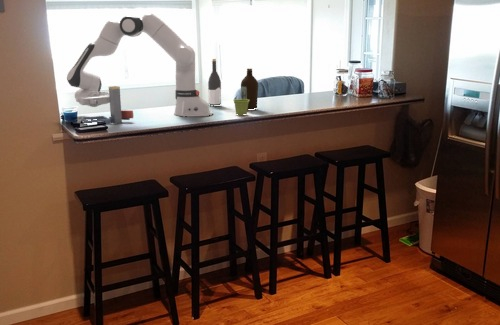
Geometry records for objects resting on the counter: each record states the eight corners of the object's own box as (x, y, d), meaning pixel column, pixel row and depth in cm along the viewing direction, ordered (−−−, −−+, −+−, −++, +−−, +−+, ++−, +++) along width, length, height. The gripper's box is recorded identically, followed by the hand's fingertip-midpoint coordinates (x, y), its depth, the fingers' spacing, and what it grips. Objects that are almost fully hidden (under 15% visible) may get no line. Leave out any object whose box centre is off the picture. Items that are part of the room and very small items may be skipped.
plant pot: (252, 114, 285) (252, 99, 283) (244, 116, 277) (244, 101, 275) (238, 113, 289) (238, 98, 287) (230, 115, 282) (230, 100, 279)
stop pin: (118, 122, 258) (115, 86, 254) (122, 123, 255) (119, 86, 251) (111, 123, 256) (108, 86, 251) (114, 124, 253) (112, 87, 248)
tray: (103, 120, 265) (102, 115, 264) (110, 123, 255) (110, 118, 255) (80, 122, 258) (80, 117, 257) (87, 125, 248) (87, 121, 248)
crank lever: (107, 120, 259) (107, 110, 257) (110, 118, 263) (109, 109, 261) (132, 120, 258) (131, 111, 257) (134, 119, 262) (133, 110, 260)
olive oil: (252, 108, 311) (253, 67, 304) (261, 110, 302) (261, 69, 295) (237, 109, 306) (237, 68, 299) (245, 111, 297) (245, 69, 290)
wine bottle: (214, 104, 325) (213, 58, 317) (223, 105, 320) (223, 58, 313) (206, 105, 319) (205, 58, 311) (215, 107, 314) (214, 59, 306)
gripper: (74, 94, 263) (85, 96, 253) (109, 91, 277) (121, 93, 267) (75, 106, 265) (86, 109, 255) (109, 102, 278) (122, 105, 268)
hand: (104, 101), depth 261 cm, fingers open, 8 cm apart
